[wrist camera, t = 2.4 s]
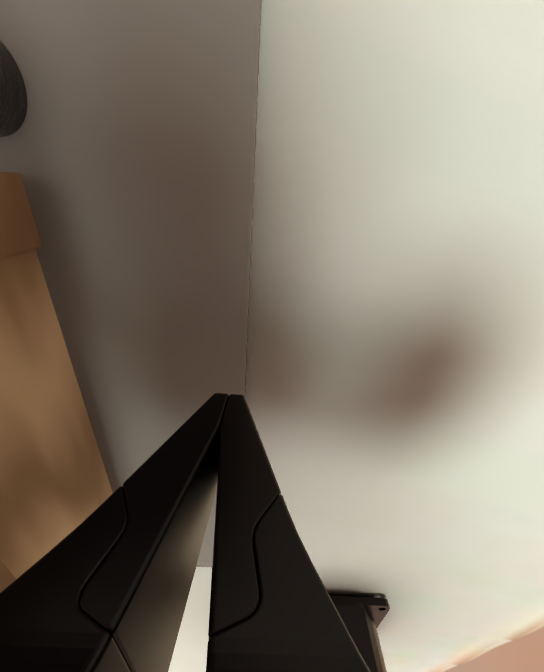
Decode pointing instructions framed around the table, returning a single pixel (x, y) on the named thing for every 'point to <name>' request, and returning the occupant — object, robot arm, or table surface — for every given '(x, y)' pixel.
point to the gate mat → (141, 202)
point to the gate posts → (11, 94)
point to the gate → (37, 405)
